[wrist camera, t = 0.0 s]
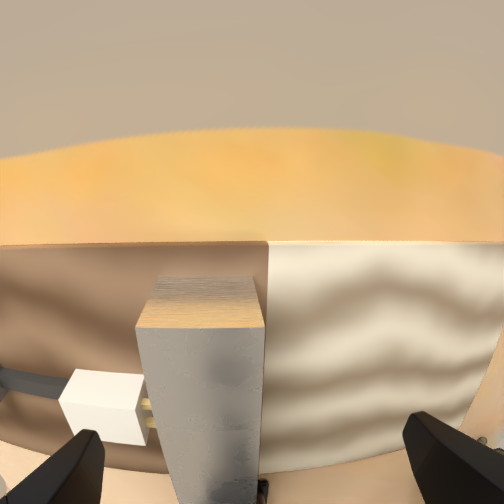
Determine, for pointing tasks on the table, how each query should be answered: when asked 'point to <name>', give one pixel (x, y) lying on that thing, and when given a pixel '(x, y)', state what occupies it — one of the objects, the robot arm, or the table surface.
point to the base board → (267, 336)
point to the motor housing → (205, 383)
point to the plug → (92, 401)
